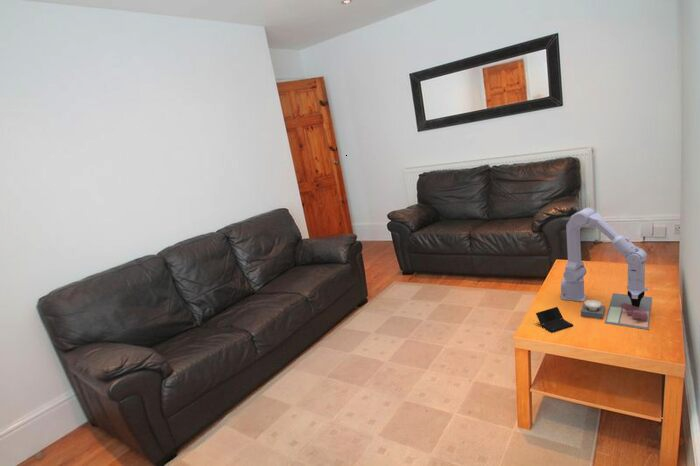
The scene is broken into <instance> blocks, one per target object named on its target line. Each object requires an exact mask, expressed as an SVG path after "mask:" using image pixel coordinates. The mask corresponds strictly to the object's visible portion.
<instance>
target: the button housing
mask: <svg viewBox="0 0 700 466" xmlns="http://www.w3.org/2000/svg"><path fill="white" fill-rule="evenodd" d="M580 309H581V310H580V317H582V318H583V317H584V318H591V319H596V320H603V319H604V316H605V314H606V313H605V312H606V305H602V304H601V307H600V308H597V311H592V310H589V308H588V307H586V306H585V302H584V303H583V304H582V308H580Z"/></svg>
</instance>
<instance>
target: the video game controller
mask: <svg viewBox="0 0 700 466" xmlns="http://www.w3.org/2000/svg"><path fill="white" fill-rule="evenodd" d="M621 307H622V308H623V309H625V310H627V314H629V315H631V316H632V317H634V318H639V319H641V320H644V319H648V315H647V314H648V313H647V312H646V311H645V310H644V309H642V308H639V307H636V306H632V305H629V304H627V303H622V304H621Z"/></svg>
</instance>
